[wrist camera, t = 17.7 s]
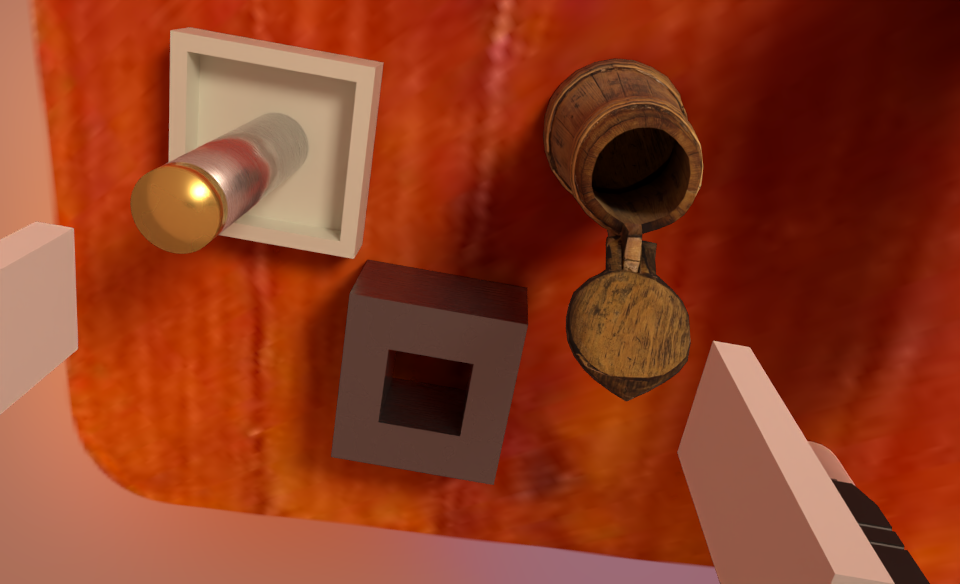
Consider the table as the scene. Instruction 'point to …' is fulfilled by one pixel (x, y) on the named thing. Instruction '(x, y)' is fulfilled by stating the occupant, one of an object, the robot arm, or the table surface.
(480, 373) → the block
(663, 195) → the wooden mug
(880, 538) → the robot arm
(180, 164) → the gold capped cylinder
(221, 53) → the tray
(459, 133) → the table surface
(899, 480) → the table surface
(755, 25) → the table surface
